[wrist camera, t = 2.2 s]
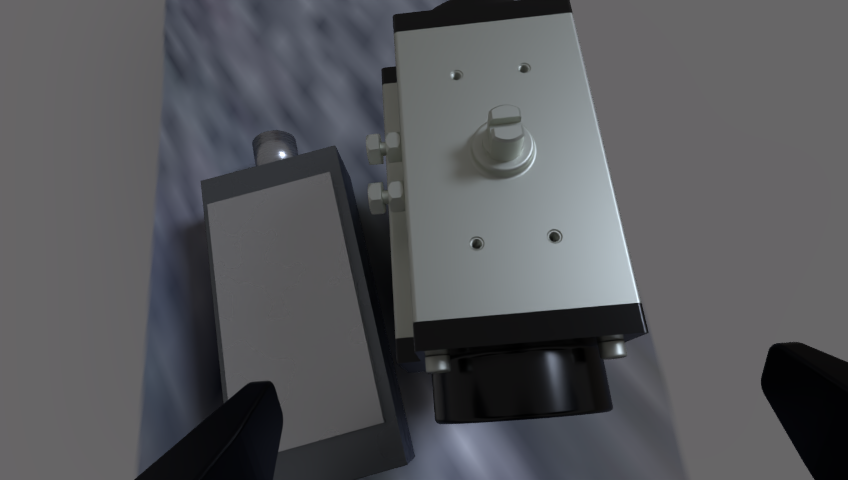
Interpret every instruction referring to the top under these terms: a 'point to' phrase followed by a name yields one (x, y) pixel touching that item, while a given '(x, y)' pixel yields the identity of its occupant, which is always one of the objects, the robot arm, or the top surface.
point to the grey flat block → (304, 311)
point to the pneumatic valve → (501, 214)
